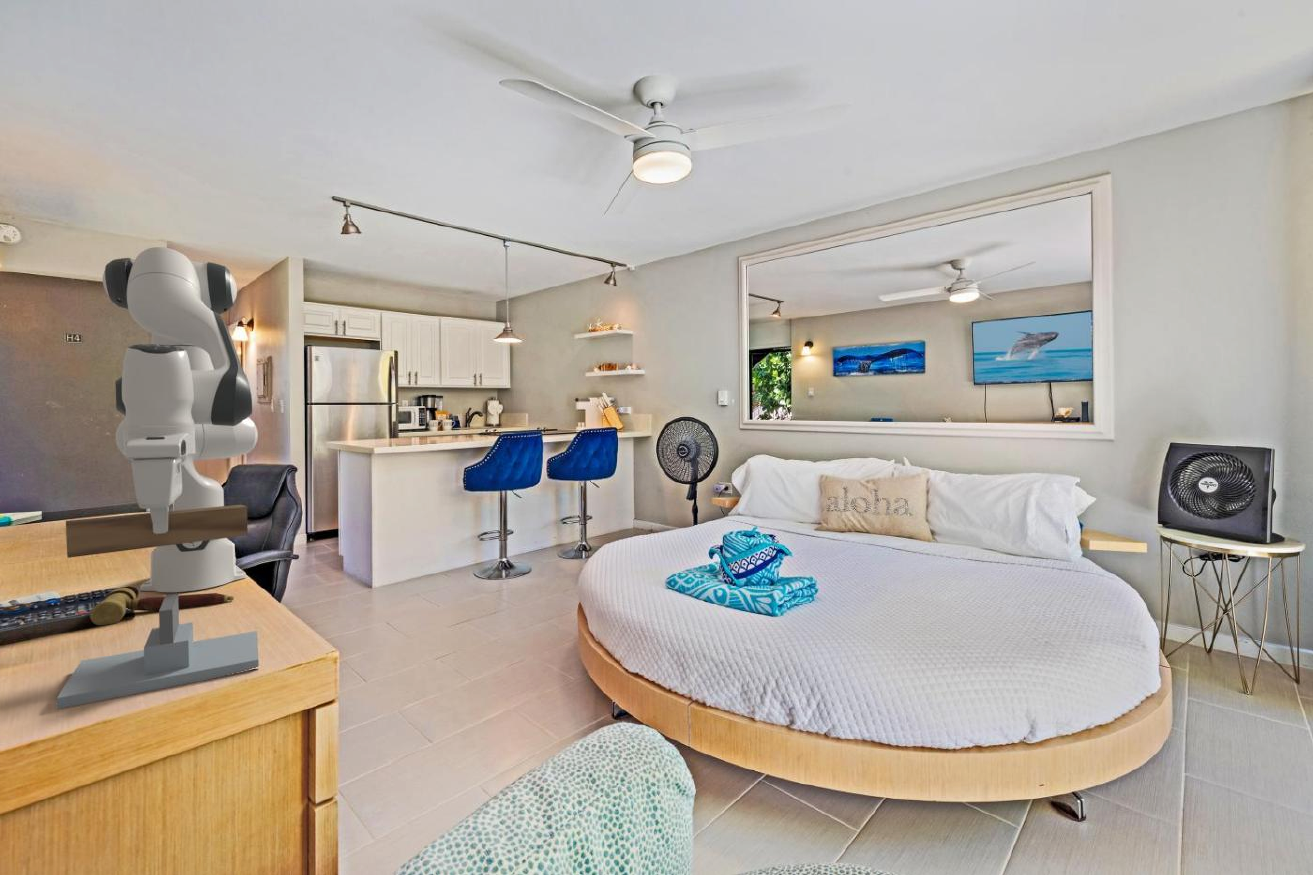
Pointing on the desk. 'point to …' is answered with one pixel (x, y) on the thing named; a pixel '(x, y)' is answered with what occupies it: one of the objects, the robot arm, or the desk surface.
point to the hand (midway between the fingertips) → (163, 530)
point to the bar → (139, 530)
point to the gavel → (145, 604)
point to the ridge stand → (160, 662)
